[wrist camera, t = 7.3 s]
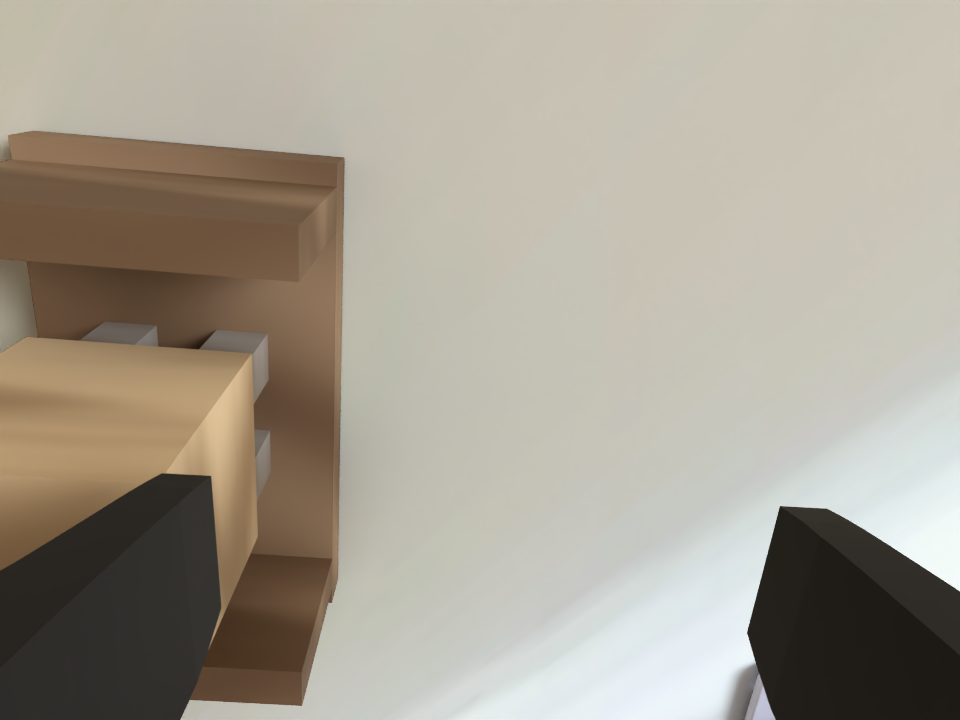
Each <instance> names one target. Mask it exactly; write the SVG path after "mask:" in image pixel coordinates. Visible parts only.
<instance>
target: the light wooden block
mask: <svg viewBox="0 0 960 720" xmlns="http://www.w3.org/2000/svg"><path fill="white" fill-rule="evenodd" d="M161 473H167V474H186V475H204V476H211V480H212V492H213V505H214V518H215V531H216V544H217V556H218V569H219V582H220V595H221V607H222V608H221V611H220V614H219V617H218V621H217V624H216V627H215V630H214V633H213V637H212V640H213V638H214V636H215V634H216V631H217V629H218V627H219V624H220V622H221V620H222V618H223V615H224V613H225V611H226V608H227V606H228V604H229V602H230V599H231V597H232V595H233V592H234V590H235V588H236V586H237V583H238V581H239V579H240V576H241V574H242V572H243V570H244V567H245V565H246V563H247V560H248V558H249V556H250V553H251V551H252V549H253V547H254V544H255V542H256V540H257V537H258V525H257V495H256V465H255V435H254V405H253V375H252V353H239V352H225V351H211V350H198V349H184V348H171V347H157V346H144V345H130V344H117V343H103V342H90V341H76V340H63V339H49V338H35V337H25V338H24V339H22V340H20V341H19V342H17V343H16V344H14V345H13V346H11V347H10V348H8V349H6V350H5V351H3V352H2V353H0V570H2V569H4V568H6V567H7V566H9V565H11V564H13V563H14V562H16V561H18V560H19V559H21V558H23V557H24V556H26V555H28V554H29V553H31V552H32V551H34V550H36V549H37V548H39V547H41V546H42V545H44V544H45V543H47V542H49V541H50V540H52V539H54V538H55V537H57V536H59V535H60V534H62V533H63V532H65V531H67V530H68V529H70V528H72V527H73V526H75V525H76V524H78V523H80V522H81V521H83V520H84V519H86V518H88V517H89V516H91V515H92V514H94V513H96V512H97V511H99V510H100V509H102V508H104V507H105V506H107V505H108V504H110V503H112V502H113V501H115V500H116V499H118V498H120V497H121V496H123V495H125V494H126V493H128V492H129V491H131V490H133V489H134V488H136V487H138V486H139V485H141V484H143V483H145V482H146V481H148V480H150V479H152V478H154V477H156V476H158V475H160V474H161ZM212 640H211V643H212ZM211 643H210V645H211ZM209 647H210V646H209ZM208 650H209V649H208Z"/></svg>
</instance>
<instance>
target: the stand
mask: <svg viewBox="0 0 960 720" xmlns="http://www.w3.org/2000/svg"><path fill="white" fill-rule="evenodd" d="M8 138H9V145H10V152H11V158H12V159H11V160H7V161H3V162H0V259H9V260H22V261H27V265H28V272H29V278H30V285H31V292H32V298H33V305H34V312H35V318H36V325H37V332H38V338H49V339H63V340H76V341H90V342H103V343H117V344H130V345H144V346H157V347H171V348H184V349H198V350H211V351H225V352H239V353H252V375H253V405H254V435H255V465H256V495H257V525H258V537H257V540H256V542H255V544H254V547H253V549H252V551H251V553H250V556H249V558H248V560H247V563H246V565H245V567H244V570H243V572H242V574H241V576H240V579H239V581H238V583H237V586H236V588H235V590H234V592H233V595H232V597H231V599H230V602H229V604H228V606H227V608H226V611H225V613H224V615H223V618H222V620H221V622H220V624H219V627H218V629H217V631H216V634H215V636H214V638H213V640H212V643H211V645H210V647H209V650H208V652H207V655H206V658H205V661H204V664H203V667H202V670H201V673H200V676H199V679H198V682H197V684H196V686H195V689H194V691H193V693H192V695H191V697H190V700H203V701H222V702H241V703H260V704H279V705H298V706H302V703H303V699H304V696H305V692H306V688H307V684H308V680H309V676H310V672H311V668H312V664H313V660H314V656H315V653H316V649H317V645H318V641H319V637H320V633H321V629H322V625H323V621H324V617H325V614H326V610H327V606H328V602H329V603H332V600H333V596H334V592H335V588H336V584H337V580H338V527H339V465H340V403H341V341H342V279H343V218H344V158H343V157H331V156H319V155H308V154H296V153H285V152H273V151H261V150H250V149H238V148H227V147H215V146H203V145H192V144H180V143H168V142H157V141H145V140H134V139H122V138H110V137H99V136H87V135H76V134H64V133H52V132H41V131H30V132H24V133H19V134H13V135H8Z"/></svg>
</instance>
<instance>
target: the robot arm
mask: <svg viewBox="0 0 960 720" xmlns="http://www.w3.org/2000/svg"><path fill="white" fill-rule="evenodd" d="M221 608H222V607H221V595H220V582H219V569H218V556H217V544H216V531H215V518H214V505H213V492H212V480H211V476H204V475H186V474H167V473H161V474H160V475H158V476H156V477H154V478H152V479H150V480H148V481H146V482H145V483H143V484H141V485H139V486H138V487H136V488H134V489H133V490H131V491H129V492H128V493H126V494H125V495H123V496H121V497H120V498H118V499H116V500H115V501H113V502H112V503H110V504H108V505H107V506H105V507H104V508H102V509H100V510H99V511H97V512H96V513H94V514H92V515H91V516H89V517H88V518H86V519H84V520H83V521H81V522H80V523H78V524H76V525H75V526H73V527H72V528H70V529H68V530H67V531H65V532H63V533H62V534H60V535H59V536H57V537H55V538H54V539H52V540H50V541H49V542H47V543H45V544H44V545H42V546H41V547H39V548H37V549H36V550H34V551H32V552H31V553H29V554H28V555H26V556H24V557H23V558H21V559H19V560H18V561H16V562H14V563H13V564H11V565H9V566H7V567H6V568H4V569H2V570H0V720H180V719H181V717H182V715H183V713H184V710H185V708H186V706H187V704H188V702H189V700H190V697H191V695H192V693H193V691H194V689H195V686H196V684H197V682H198V679H199V676H200V673H201V670H202V667H203V664H204V661H205V658H206V655H207V652H208V649H209V646H210V643H211V640H212V637H213V633H214V630H215V627H216V624H217V621H218V617H219V614H220V611H221ZM747 634H748V637H749V641H750V644H751V647H752V651H753V654H754V658H755V661H756V665H757V668H758V671H759V674H758V676H757V680H756V683H755V687H754V690H753V693H752V697H751V700H750V703H749V707H748V710H747V713H746V717H745V720H960V591H958V590H957V589H955V588H954V587H952V586H951V585H949V584H948V583H946V582H944V581H943V580H941V579H940V578H938V577H937V576H935V575H934V574H932V573H931V572H929V571H928V570H926V569H924V568H923V567H921V566H920V565H918V564H917V563H915V562H914V561H912V560H911V559H909V558H908V557H906V556H905V555H903V554H901V553H900V552H898V551H897V550H895V549H894V548H892V547H891V546H889V545H888V544H886V543H884V542H883V541H881V540H880V539H878V538H876V537H875V536H873V535H872V534H870V533H869V532H867V531H865V530H864V529H862V528H860V527H859V526H857V525H855V524H854V523H852V522H850V521H849V520H847V519H845V518H843V517H842V516H840V515H838V514H836V513H834V512H832V511H830V510H828V509H821V508H802V507H783V506H780V508H779V512H778V516H777V520H776V524H775V528H774V532H773V535H772V539H771V543H770V547H769V551H768V555H767V558H766V562H765V566H764V570H763V574H762V578H761V581H760V585H759V589H758V593H757V597H756V601H755V604H754V608H753V612H752V616H751V620H750V624H749V627H748V631H747Z"/></svg>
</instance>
